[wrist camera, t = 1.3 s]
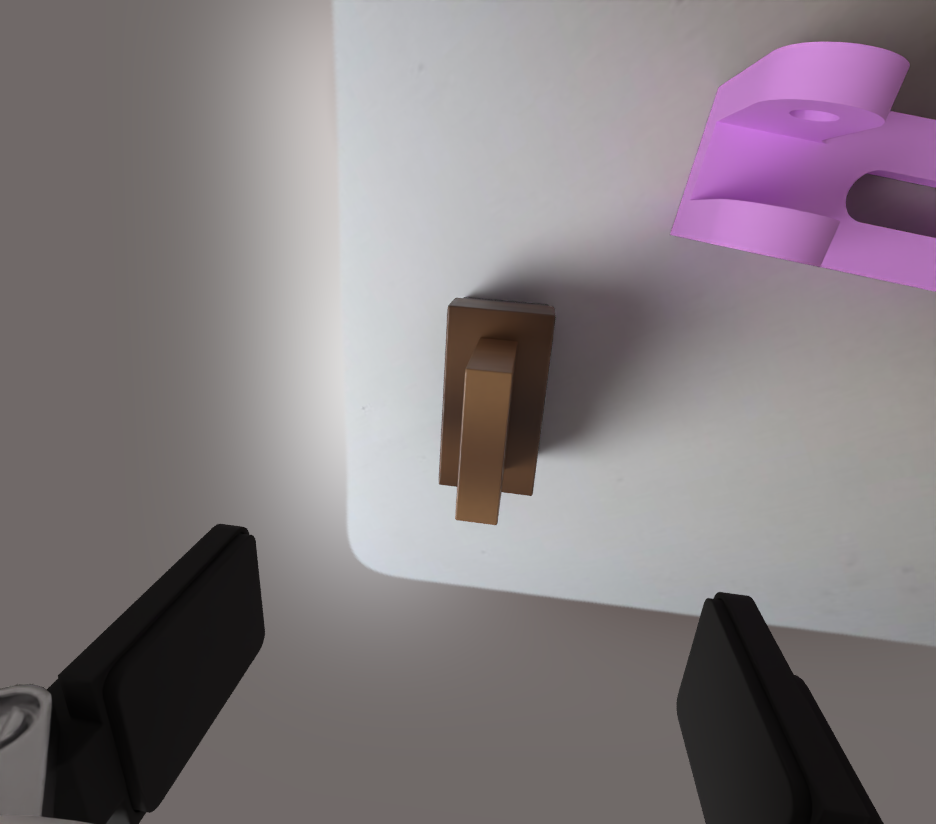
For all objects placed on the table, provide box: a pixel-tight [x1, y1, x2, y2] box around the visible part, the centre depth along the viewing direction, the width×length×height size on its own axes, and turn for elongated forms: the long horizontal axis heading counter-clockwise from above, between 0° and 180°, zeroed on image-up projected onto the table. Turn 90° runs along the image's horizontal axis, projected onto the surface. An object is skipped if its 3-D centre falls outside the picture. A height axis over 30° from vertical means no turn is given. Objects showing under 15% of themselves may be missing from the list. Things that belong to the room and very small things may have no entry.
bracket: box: [670, 42, 936, 291], centre depth 18 cm, size 13×6×7 cm, turn 79°
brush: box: [439, 297, 556, 525], centre depth 22 cm, size 8×4×8 cm, turn 176°
